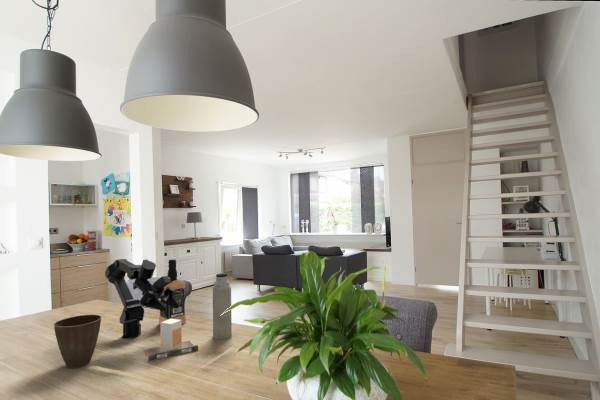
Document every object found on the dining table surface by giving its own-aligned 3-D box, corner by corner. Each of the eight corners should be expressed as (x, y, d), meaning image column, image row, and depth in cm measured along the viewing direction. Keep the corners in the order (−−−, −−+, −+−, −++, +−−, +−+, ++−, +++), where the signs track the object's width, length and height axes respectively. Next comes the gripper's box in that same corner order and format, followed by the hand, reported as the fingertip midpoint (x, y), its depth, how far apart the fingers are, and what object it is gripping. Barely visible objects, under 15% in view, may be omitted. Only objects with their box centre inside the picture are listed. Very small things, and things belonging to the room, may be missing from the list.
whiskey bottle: (177, 319, 186) (177, 257, 187) (186, 323, 179) (186, 259, 180) (158, 324, 179) (157, 260, 180) (167, 328, 172) (166, 261, 173)
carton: (172, 354, 136) (172, 324, 136) (160, 352, 138) (160, 322, 139) (182, 349, 141) (182, 320, 141) (170, 347, 143) (170, 318, 144)
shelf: (149, 363, 130) (149, 356, 130) (143, 352, 141) (143, 345, 141) (198, 352, 140) (198, 345, 140) (189, 343, 151) (189, 336, 151)
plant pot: (50, 376, 121) (50, 329, 122) (56, 361, 134) (57, 318, 135) (100, 367, 128) (100, 322, 129) (101, 353, 141) (102, 312, 142)
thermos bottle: (220, 334, 161) (220, 272, 162) (235, 336, 158) (234, 273, 159) (209, 340, 154) (208, 275, 155) (224, 342, 150) (223, 276, 151)
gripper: (143, 271, 145) (170, 294, 141) (170, 270, 163) (194, 290, 159) (128, 294, 145) (154, 318, 141) (156, 290, 163) (180, 311, 159)
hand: (172, 308), depth 150 cm, fingers open, 9 cm apart
